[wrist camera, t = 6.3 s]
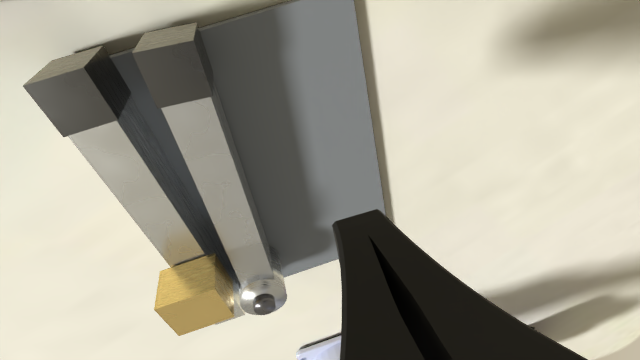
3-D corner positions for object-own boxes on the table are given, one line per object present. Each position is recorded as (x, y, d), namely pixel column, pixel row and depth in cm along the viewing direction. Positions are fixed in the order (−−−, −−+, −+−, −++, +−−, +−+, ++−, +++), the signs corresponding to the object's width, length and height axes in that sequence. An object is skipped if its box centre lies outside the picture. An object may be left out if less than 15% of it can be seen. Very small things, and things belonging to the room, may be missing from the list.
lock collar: (232, 281, 19) (234, 316, 17) (182, 298, 19) (179, 335, 17) (214, 252, 18) (214, 288, 16) (160, 271, 18) (154, 309, 16)
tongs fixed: (243, 280, 23) (246, 315, 21) (214, 290, 23) (214, 326, 21) (102, 45, 14) (83, 67, 12) (51, 60, 14) (22, 85, 12)
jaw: (283, 267, 23) (292, 314, 21) (243, 278, 23) (247, 327, 20) (204, 20, 14) (201, 45, 11) (136, 33, 14) (117, 63, 11)
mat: (386, 236, 25) (389, 241, 24) (213, 295, 24) (213, 301, 24) (347, -17, 15) (351, -15, 14) (52, 72, 14) (47, 77, 14)
